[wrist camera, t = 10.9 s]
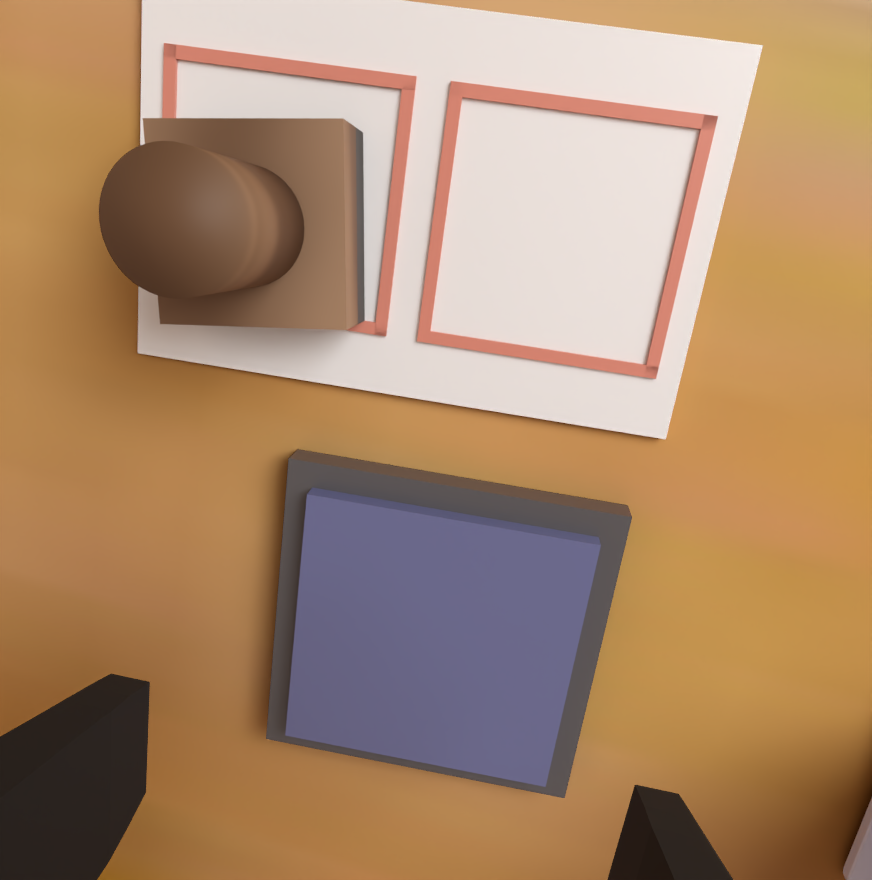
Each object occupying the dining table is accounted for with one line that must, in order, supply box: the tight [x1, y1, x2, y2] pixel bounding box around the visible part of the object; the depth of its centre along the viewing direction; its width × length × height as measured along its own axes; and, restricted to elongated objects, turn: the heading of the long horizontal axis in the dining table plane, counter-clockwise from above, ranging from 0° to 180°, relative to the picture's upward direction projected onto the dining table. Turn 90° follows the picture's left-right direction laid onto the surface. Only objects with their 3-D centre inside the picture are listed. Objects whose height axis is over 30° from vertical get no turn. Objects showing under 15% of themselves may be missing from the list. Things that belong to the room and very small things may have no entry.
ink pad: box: [266, 449, 632, 798], centre depth 20 cm, size 9×9×1 cm
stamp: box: [99, 118, 365, 330], centre depth 15 cm, size 4×4×6 cm
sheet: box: [138, 0, 763, 439], centre depth 17 cm, size 14×9×1 cm, turn 82°
